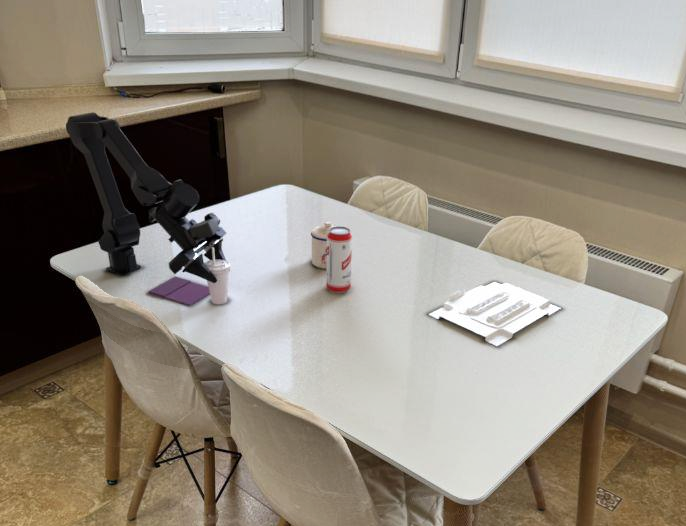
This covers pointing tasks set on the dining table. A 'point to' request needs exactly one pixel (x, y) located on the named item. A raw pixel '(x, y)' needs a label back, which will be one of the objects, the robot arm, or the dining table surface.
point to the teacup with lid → (320, 245)
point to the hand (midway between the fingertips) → (222, 276)
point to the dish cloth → (181, 291)
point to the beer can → (339, 259)
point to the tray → (495, 310)
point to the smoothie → (218, 279)
